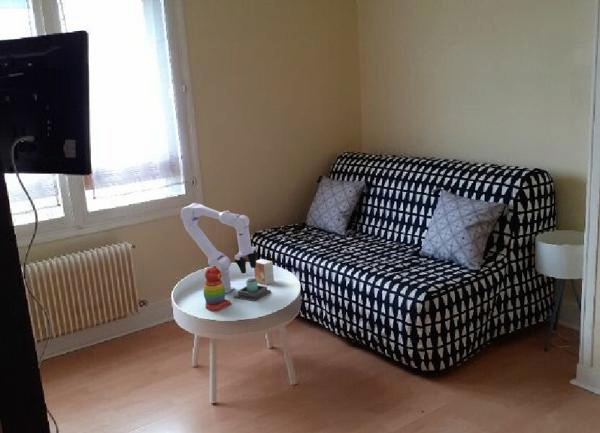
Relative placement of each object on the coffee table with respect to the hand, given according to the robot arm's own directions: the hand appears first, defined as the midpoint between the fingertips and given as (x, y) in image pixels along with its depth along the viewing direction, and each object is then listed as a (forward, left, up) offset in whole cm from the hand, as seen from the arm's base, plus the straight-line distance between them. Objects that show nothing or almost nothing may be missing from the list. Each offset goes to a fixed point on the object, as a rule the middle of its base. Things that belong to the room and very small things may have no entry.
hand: (248, 270), depth 279 cm
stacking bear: (-4, -21, -11) cm, 24 cm away
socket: (+4, -3, -10) cm, 12 cm away
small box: (-1, +14, -11) cm, 17 cm away
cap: (+4, -3, -9) cm, 11 cm away
